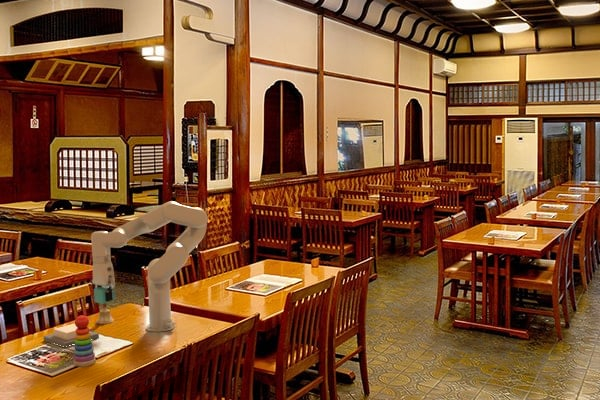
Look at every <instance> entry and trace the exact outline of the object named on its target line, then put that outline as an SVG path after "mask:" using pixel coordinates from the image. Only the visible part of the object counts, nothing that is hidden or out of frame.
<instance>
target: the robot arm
mask: <svg viewBox="0 0 600 400" xmlns="http://www.w3.org/2000/svg"><path fill="white" fill-rule="evenodd" d="M208 219H209V216H208V214H207V212H206V211H205V210H204V209H203V208H201V207H197V206H196V207H191V206H187V205H184V204H183V205H182V204H180V203H178V202H177V201H173V200H170V201H167V202H165V203H163V204H160V205H159V206H157V207H156V208H153V209H152V210H151V209H150V210H149V211H147V212H146V213H143V214H141V215H139V216H138V217H135V218H134V219H132V220H129V221H128V222H126V223H124V224H122V225H120V226H118V227H116V228H114V229H113V230H112V231H109V232H108V231H105V230H99V231H94V232H92V233H91V235H90V237H91V252H92V253H91V255H92V280H91V283H92V284H93V286H94V289H95V288H99V287H103V286H105V290H106V292H105V297H106V301H111V300H113V297H112V291H113V288H115V286H116V282H115V271H114V266H113V265H114V264H113V263H112V260H111V259H112V258H111V257H112V255H111V248H114V249H116V248H117V249H119V248H122V247H124V246H126V245H127V242H129V241H130V240H132V239H134V238H135V237H138V236H140V235H143V234H147V233H152V232H154V231H155V230H158V229H159V228H162V227H163V226H165V225H167V224H169V223H173V224H177V225H180V226H186V229H185V230H184V231H183V232H182V233H181V234H180V235H179V236H178V237H177V238H176V239H175V240H174V241H173V242H172V243H170V244H169V245H168V246H167V248H166V250H165V253H164V254H163V255H161V257H159V258H154V259H152V260H151V261H150V262H149V264H147V265H148V266H147V286H148V287H147V288H148V319H149V324H147V325H146V326H145V329H146V330H147V331H148V332H152V333H153V332H154V333H157V332H158V333H160V332H161V333H162V332H166V331H167V332H168V331H171V330H172V329H174V328H175V327H176V324H177V323H176V322H174V321H173V318H172V311H171V310H172V309H171V281H170V280H171V278H173V276H174V275H175V274H176V273H177V272H178V271H180V270H181V268H183V267H184V266H185V264H186V263H187V261H189V260H188V259H189V254H190V253H191V252H192V251H193V250H194V249H195V248H196V247H197V246H198V245H199V244H200V243H201V242H202V240H203V239H204V237H205V235H206V232H207V226H208V221H209V220H208ZM108 286H109V288H108Z"/></svg>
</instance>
